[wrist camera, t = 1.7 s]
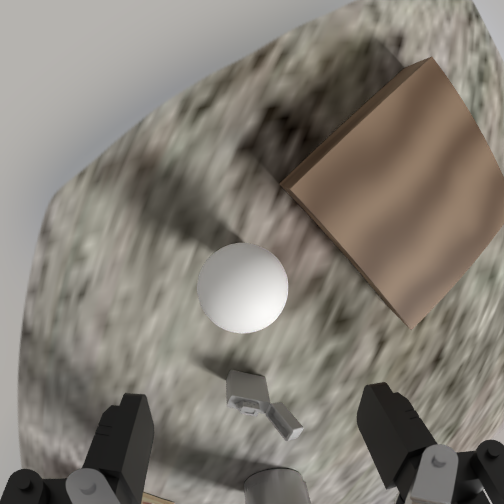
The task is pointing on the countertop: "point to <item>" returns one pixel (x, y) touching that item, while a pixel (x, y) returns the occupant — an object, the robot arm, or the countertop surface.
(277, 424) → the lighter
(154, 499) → the coffeecake box
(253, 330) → the lightbulb
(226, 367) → the countertop surface
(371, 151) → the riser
